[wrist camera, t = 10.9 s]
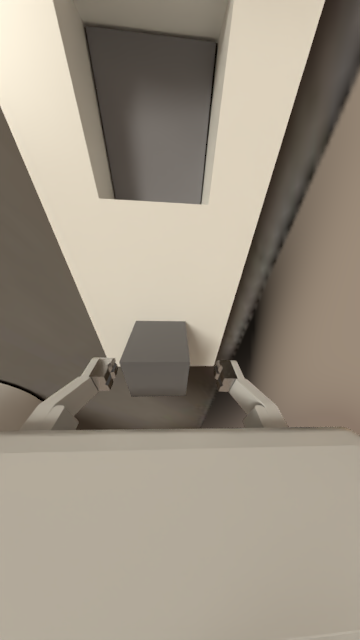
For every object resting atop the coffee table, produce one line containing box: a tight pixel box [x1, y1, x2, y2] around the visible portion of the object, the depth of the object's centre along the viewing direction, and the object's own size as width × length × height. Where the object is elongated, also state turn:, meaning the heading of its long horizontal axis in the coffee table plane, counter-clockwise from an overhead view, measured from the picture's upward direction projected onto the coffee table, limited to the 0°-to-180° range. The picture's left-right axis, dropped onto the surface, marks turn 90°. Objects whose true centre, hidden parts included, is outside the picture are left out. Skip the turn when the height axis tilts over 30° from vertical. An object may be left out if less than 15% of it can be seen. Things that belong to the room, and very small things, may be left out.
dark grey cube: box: [119, 321, 190, 397], centre depth 10 cm, size 4×4×4 cm
